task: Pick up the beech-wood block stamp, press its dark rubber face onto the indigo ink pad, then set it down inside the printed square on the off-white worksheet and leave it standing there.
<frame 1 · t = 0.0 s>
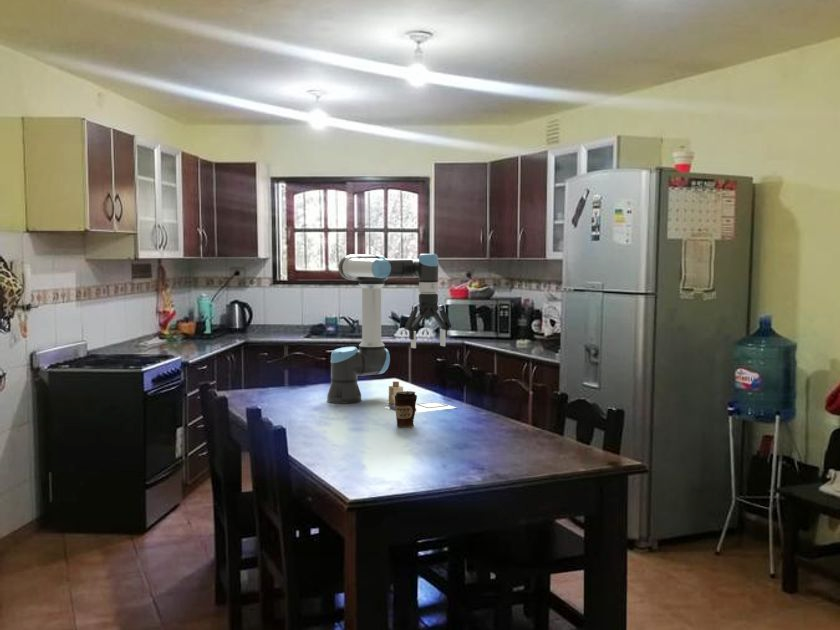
hand: (428, 347, 302), 28 cm above the table, fingers open, 13 cm apart
stamp: (395, 404, 330), on the table
coffee cup: (405, 427, 287), on the table
sheet: (420, 408, 322), on the table
ink pad: (402, 410, 316), resting on sheet
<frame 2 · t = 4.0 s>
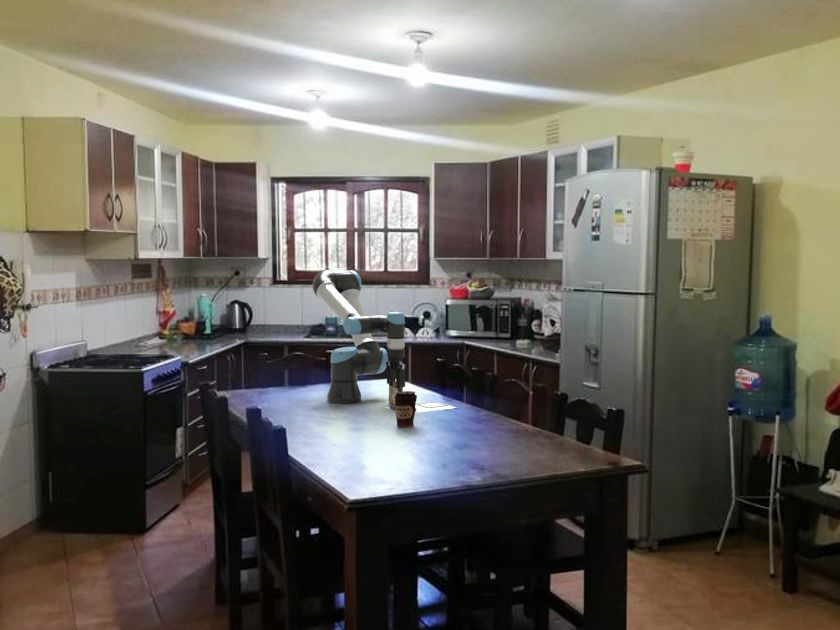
hand: (395, 401, 329), 1 cm above the table, fingers closed on stamp, 4 cm apart
stamp: (395, 404, 330), on the table, touching gripper
everything else where it was.
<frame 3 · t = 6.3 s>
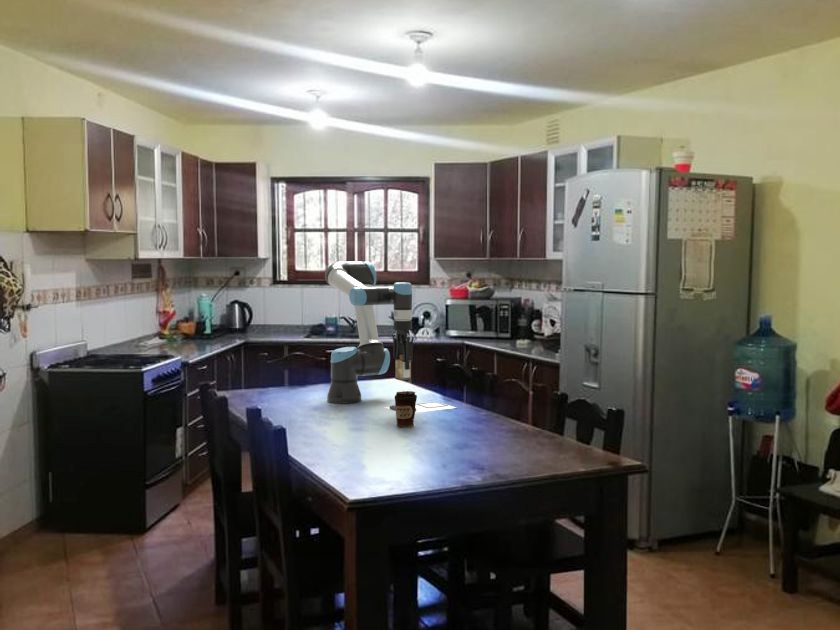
hand: (402, 376, 315), 14 cm above the table, fingers closed on stamp, 4 cm apart
stamp: (403, 379, 315), point 13 cm above the table, touching gripper
everything else where it was.
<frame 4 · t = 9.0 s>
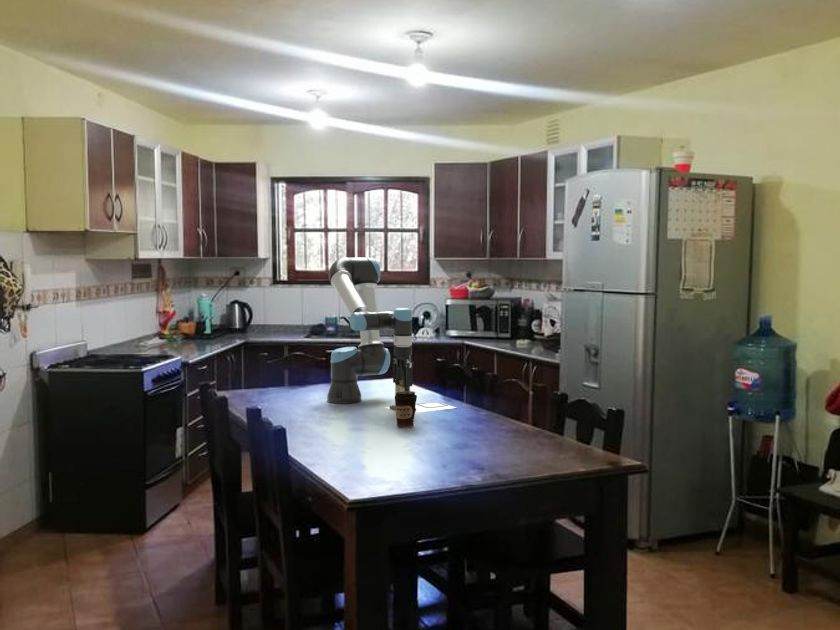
hand: (402, 401, 316), 4 cm above the table, fingers closed on stamp, 4 cm apart
stamp: (402, 404, 317), point 2 cm above the table, touching gripper
everything else where it was.
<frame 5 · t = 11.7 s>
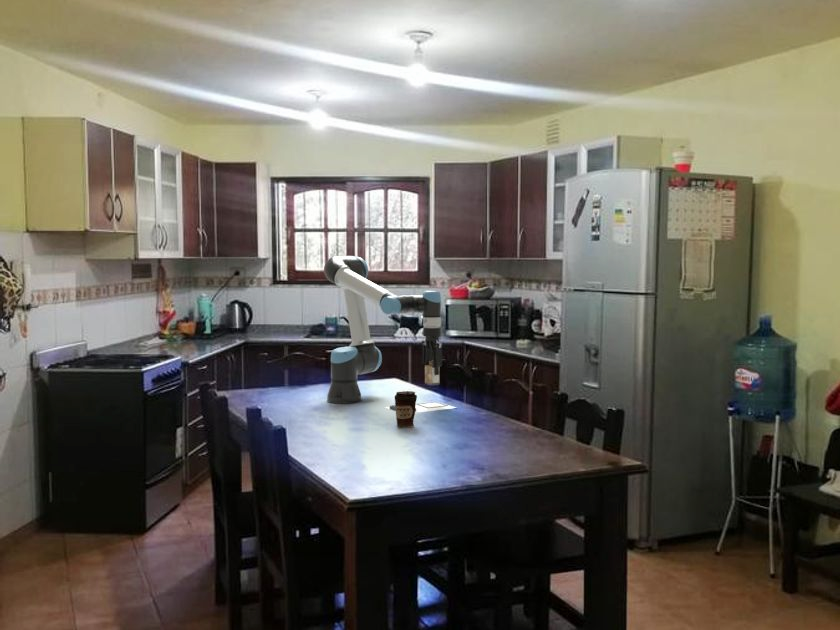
hand: (432, 381, 326), 11 cm above the table, fingers closed on stamp, 4 cm apart
stamp: (432, 384, 326), point 9 cm above the table, touching gripper
everything else where it was.
when the fingers open (2 cm above the table, at t = 14.0 s): stamp stays where it is, resting on sheet.
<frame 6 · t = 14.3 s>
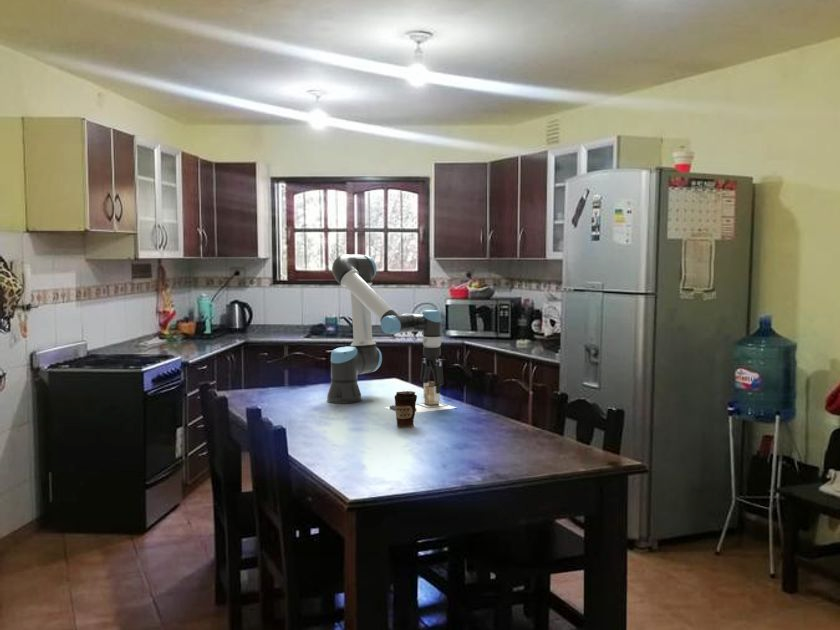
hand: (431, 399, 327), 3 cm above the table, fingers open, 8 cm apart
stamp: (431, 405, 327), resting on sheet
everything else where it was.
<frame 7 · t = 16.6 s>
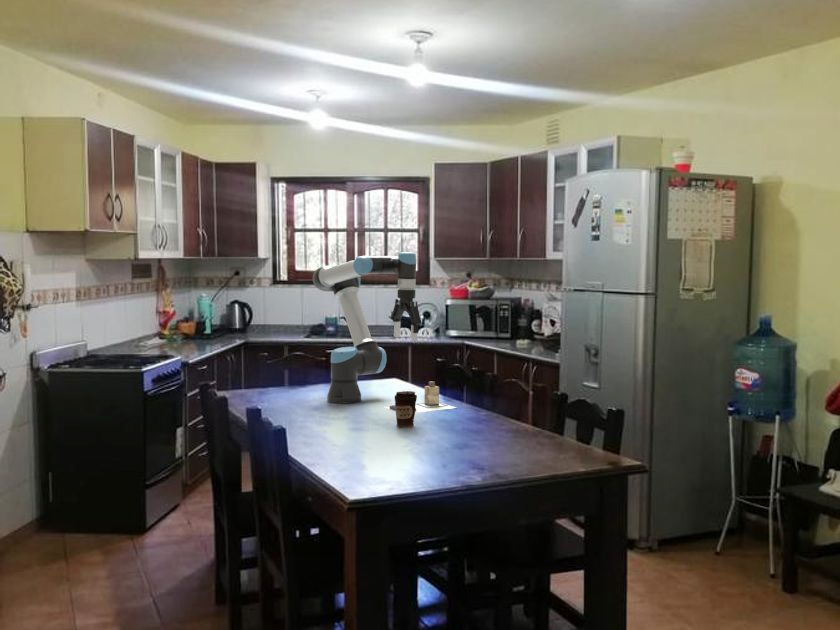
hand: (405, 338, 325), 29 cm above the table, fingers open, 13 cm apart
nothing on the table moved.
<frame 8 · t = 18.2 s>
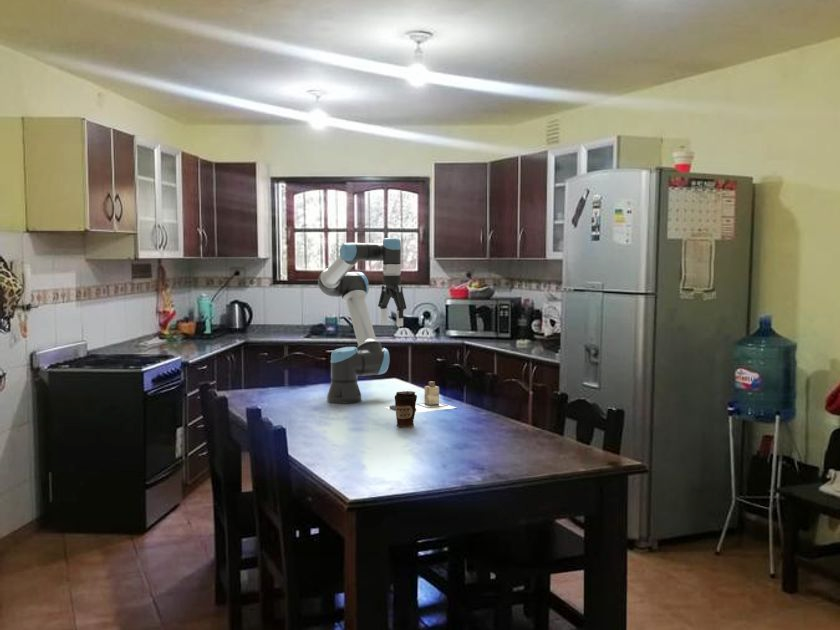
hand: (391, 325, 324), 35 cm above the table, fingers open, 13 cm apart
nothing on the table moved.
at the end: stamp inside the target area (0.0 cm from its centre), resting on sheet; stamp tilted 0°; the gripper is holding nothing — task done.
